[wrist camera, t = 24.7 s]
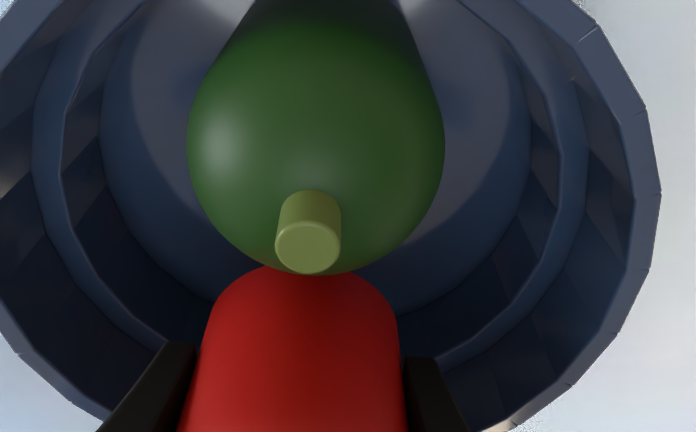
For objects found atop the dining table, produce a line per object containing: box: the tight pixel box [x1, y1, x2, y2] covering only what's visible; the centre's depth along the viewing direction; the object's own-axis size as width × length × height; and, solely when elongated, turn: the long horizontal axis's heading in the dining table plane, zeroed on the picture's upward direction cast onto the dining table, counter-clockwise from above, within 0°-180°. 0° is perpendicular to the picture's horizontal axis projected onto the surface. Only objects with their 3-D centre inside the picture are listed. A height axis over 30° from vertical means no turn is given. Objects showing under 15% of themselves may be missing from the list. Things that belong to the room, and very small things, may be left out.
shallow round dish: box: [0, 0, 662, 432], centre depth 13 cm, size 14×14×5 cm
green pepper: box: [186, 0, 445, 276], centre depth 10 cm, size 5×5×7 cm
